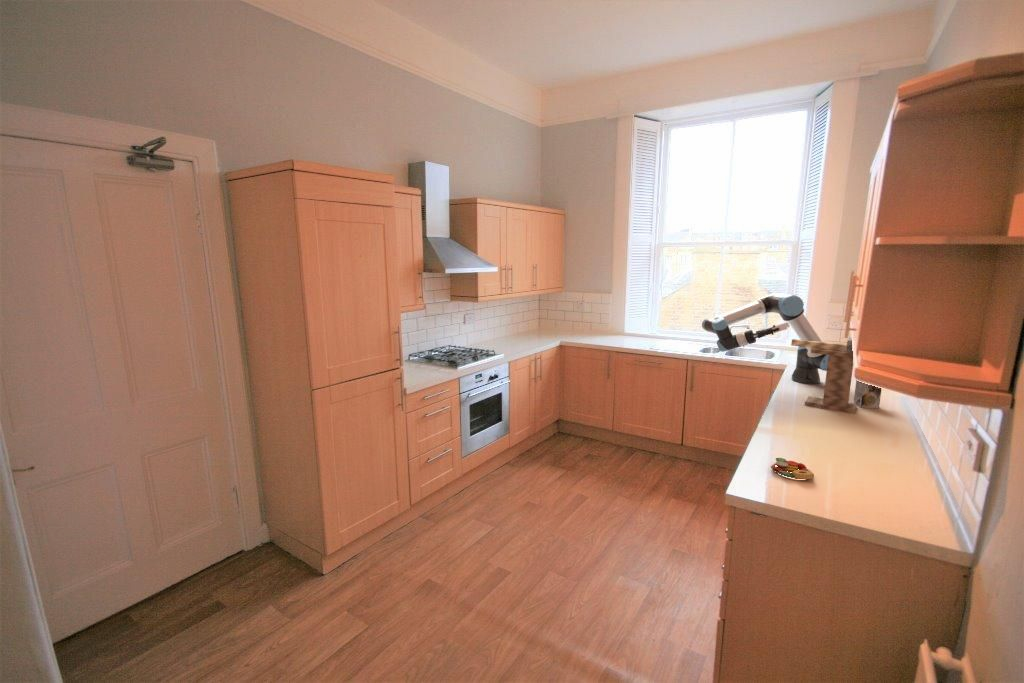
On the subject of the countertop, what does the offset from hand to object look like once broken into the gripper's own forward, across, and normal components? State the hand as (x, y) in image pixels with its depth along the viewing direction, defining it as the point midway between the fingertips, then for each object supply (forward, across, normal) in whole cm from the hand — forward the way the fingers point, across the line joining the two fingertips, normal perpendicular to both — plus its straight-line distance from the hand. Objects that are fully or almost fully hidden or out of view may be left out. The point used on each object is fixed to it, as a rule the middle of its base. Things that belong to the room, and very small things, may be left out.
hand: (787, 325), depth 248 cm
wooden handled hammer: (+11, +4, -16) cm, 20 cm away
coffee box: (+18, -8, -52) cm, 56 cm away
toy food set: (-6, +100, -46) cm, 110 cm away
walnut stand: (+4, +3, -46) cm, 46 cm away
